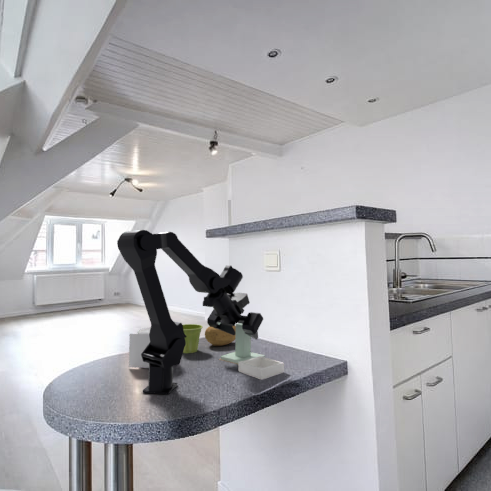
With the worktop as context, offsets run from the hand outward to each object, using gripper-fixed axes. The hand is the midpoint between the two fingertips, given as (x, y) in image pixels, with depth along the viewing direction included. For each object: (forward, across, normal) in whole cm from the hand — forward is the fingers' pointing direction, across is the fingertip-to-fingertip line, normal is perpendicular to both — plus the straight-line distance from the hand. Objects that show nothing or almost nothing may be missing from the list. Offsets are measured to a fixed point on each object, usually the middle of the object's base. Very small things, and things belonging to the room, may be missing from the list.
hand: (245, 336), depth 107 cm
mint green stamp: (+4, 0, +6) cm, 7 cm away
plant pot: (+1, +20, +9) cm, 23 cm away
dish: (0, -12, +11) cm, 16 cm away
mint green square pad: (+4, 0, +6) cm, 7 cm away
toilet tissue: (-10, +18, +21) cm, 29 cm away
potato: (+11, +18, 0) cm, 21 cm away
